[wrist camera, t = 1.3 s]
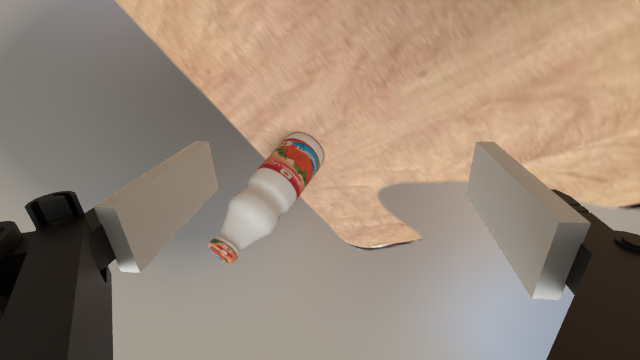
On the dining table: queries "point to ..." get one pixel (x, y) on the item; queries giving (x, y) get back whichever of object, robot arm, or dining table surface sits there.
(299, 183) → the white yogurt drink bottle
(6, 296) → the robot arm
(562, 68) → the dining table surface
